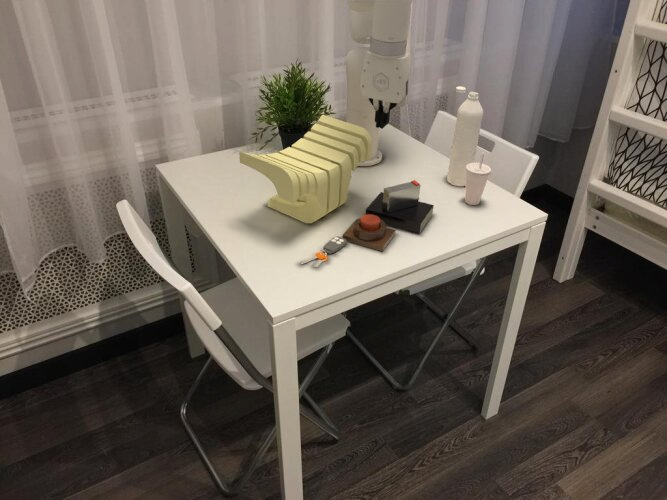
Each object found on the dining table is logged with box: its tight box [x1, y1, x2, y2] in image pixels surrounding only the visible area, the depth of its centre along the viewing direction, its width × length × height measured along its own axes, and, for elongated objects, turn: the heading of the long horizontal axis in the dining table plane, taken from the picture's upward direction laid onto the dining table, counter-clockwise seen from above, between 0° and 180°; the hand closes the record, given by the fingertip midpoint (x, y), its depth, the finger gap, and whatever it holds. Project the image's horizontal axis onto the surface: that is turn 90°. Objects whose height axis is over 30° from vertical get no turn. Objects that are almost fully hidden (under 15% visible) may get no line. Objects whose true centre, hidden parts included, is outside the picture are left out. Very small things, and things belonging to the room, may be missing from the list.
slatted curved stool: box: [238, 114, 372, 224], centre depth 143 cm, size 30×16×18 cm, turn 142°
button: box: [360, 214, 380, 231], centre depth 135 cm, size 4×4×2 cm
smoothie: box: [464, 151, 492, 206], centre depth 149 cm, size 6×6×14 cm
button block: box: [342, 217, 396, 253], centre depth 136 cm, size 10×8×4 cm
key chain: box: [300, 235, 348, 268], centre depth 130 cm, size 13×4×2 cm, turn 145°
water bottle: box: [446, 86, 484, 187], centre depth 156 cm, size 9×6×25 cm
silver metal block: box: [382, 179, 421, 213], centre depth 142 cm, size 9×2×6 cm, turn 119°
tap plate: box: [364, 191, 435, 235], centre depth 144 cm, size 14×10×3 cm
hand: (381, 125), depth 137 cm, fingers closed
